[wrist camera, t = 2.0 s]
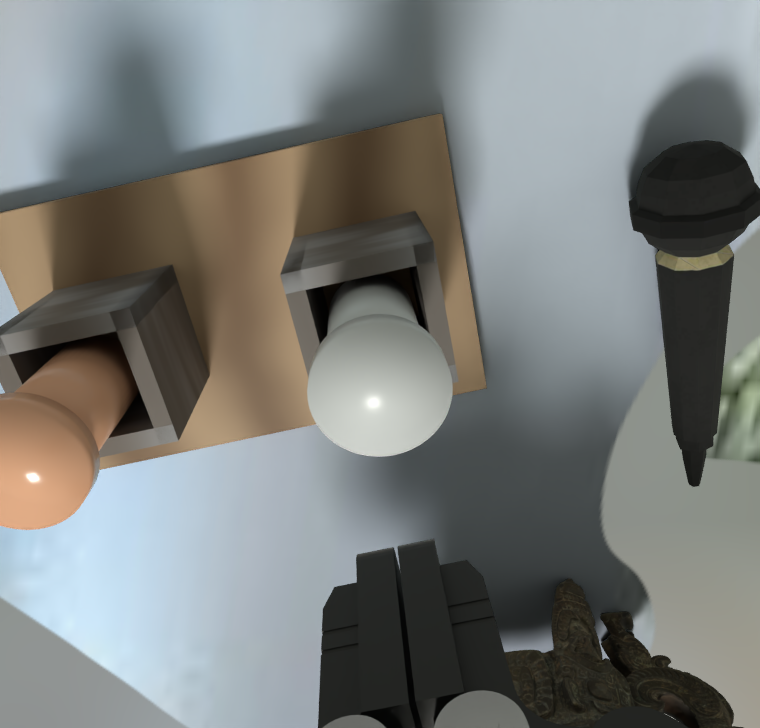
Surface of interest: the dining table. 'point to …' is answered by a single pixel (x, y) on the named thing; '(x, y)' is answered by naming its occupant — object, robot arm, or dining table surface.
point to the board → (238, 279)
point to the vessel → (606, 673)
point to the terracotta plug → (60, 431)
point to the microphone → (695, 274)
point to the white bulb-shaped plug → (377, 372)
